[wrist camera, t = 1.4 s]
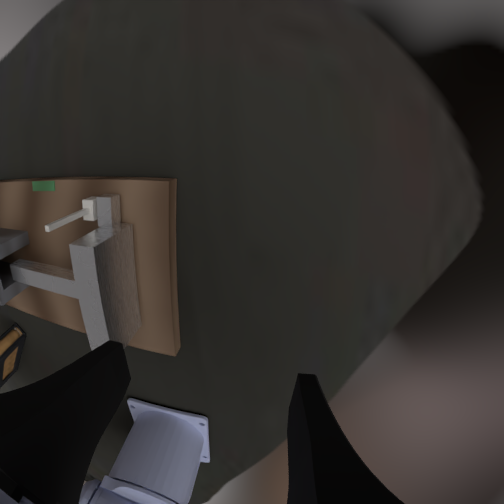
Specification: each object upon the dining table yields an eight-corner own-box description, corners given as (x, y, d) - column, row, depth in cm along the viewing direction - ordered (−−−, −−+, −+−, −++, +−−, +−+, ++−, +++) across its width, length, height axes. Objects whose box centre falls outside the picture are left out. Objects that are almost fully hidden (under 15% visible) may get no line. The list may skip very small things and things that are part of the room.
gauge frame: (176, 178, 16) (122, 199, 10) (180, 346, 20) (150, 407, 15) (-30, 183, 18) (-73, 198, 12) (-11, 289, 22) (-46, 314, 16)
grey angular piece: (131, 194, 15) (90, 211, 11) (141, 325, 18) (115, 362, 15) (24, 192, 16) (-16, 206, 12) (42, 298, 19) (12, 323, 15)
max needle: (102, 196, 15) (51, 216, 11) (102, 216, 16) (53, 241, 12) (91, 196, 15) (40, 216, 11) (92, 215, 16) (43, 239, 12)
